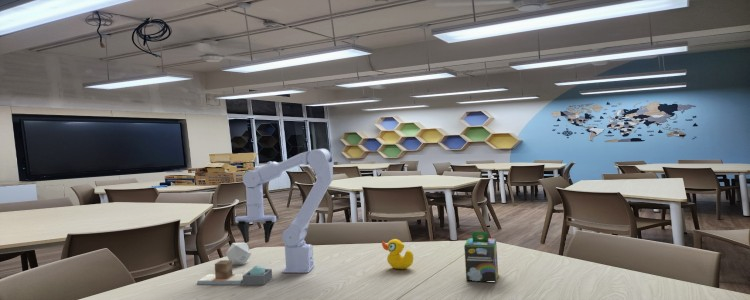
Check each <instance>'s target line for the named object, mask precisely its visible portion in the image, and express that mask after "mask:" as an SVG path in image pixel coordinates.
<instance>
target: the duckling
mask: <svg viewBox="0 0 750 300" xmlns="http://www.w3.org/2000/svg"><path fill="white" fill-rule="evenodd" d="M381 246H382V248H383V249H384V250H386V251H388V252H389V254H388V255H387V259H386V260H387V263H388V264H389V265H390V267H392V268H394V270H395V269H396V270H406V269H408V268H410V267H411V266H412V265H413V262H414V254H413V252H412V251H411V250H406V251H405V252H404V256H403V255H401V253H402V252H403V250H404V248H405V244H404V243H403V242H402V241H401V240H400V239H397V238H393V239H391V240H389V241H388V242H387V243H386V242H385V241H382V242H381Z"/></svg>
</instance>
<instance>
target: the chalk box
mask: <svg viewBox="0 0 750 300" xmlns="http://www.w3.org/2000/svg"><path fill="white" fill-rule="evenodd" d="M471 233H472V234H471V235H472V237H470V238H468V239H466V241H465V243H464V246H463V247H464V263H465V279H466V280H472V281H471V282H477V281H496V280H498V277H497V276H499V267H498V266H499V265H498V249H497V239H496V238H494V237H493V238H492V237H489V233H488V231H478V230H477V231H474V230H473V231H472V232H471ZM478 236H483V237H481V238H480V237H478ZM496 282H497V281H496Z"/></svg>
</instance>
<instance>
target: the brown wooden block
mask: <svg viewBox="0 0 750 300" xmlns="http://www.w3.org/2000/svg"><path fill="white" fill-rule="evenodd" d="M214 274H215V278H216V279H228V278H229V277H231V276H232V275H233V274H234V273H233V265H232V260H229V259H228V260H227V259H226V260H221V259H220V260H218V261H217V262H215V263H214Z"/></svg>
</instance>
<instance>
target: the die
mask: <svg viewBox="0 0 750 300" xmlns="http://www.w3.org/2000/svg"><path fill="white" fill-rule="evenodd" d="M225 255H226V257H227V259H228V260H232V266H238V265H239V266H240V265H246V264H247V262H248V260H249V259H250V257H251V255H252V252H251V249H250V248H249V245H248V242H247V243H245V242H232V243H231V245H230V246H229V247H228V249H227V250H226V252H225Z"/></svg>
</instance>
